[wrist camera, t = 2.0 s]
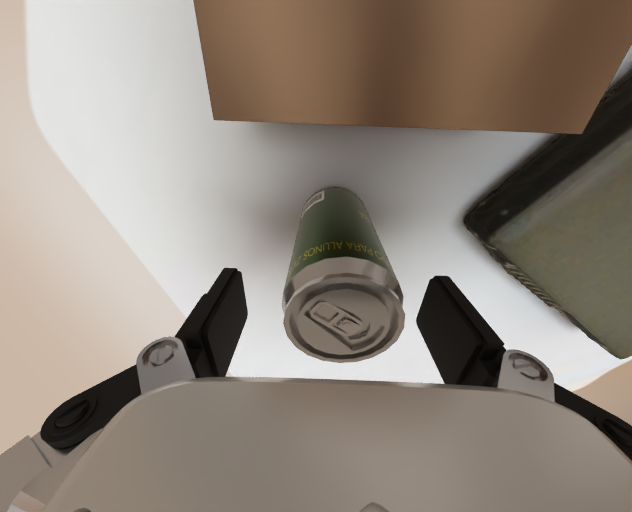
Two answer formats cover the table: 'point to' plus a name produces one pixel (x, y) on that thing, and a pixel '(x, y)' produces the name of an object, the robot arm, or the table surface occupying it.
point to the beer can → (340, 283)
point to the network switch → (573, 225)
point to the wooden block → (413, 61)
